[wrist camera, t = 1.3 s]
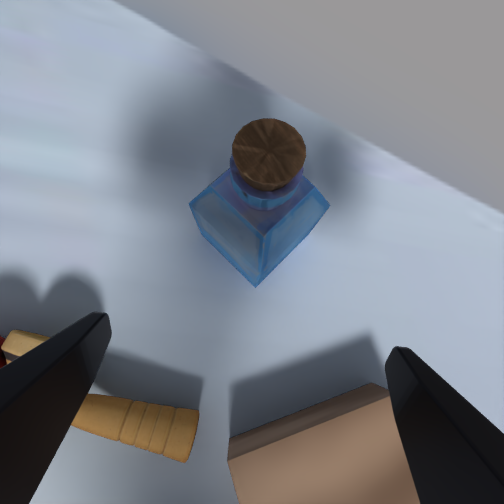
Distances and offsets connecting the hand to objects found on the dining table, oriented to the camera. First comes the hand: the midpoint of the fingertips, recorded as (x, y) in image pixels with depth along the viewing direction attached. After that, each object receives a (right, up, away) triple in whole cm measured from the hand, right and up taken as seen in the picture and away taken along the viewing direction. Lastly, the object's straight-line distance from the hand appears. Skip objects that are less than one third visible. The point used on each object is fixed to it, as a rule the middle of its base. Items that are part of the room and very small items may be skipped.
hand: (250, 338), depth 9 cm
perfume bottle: (0, +4, +15) cm, 16 cm away
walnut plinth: (+5, -14, +11) cm, 18 cm away
